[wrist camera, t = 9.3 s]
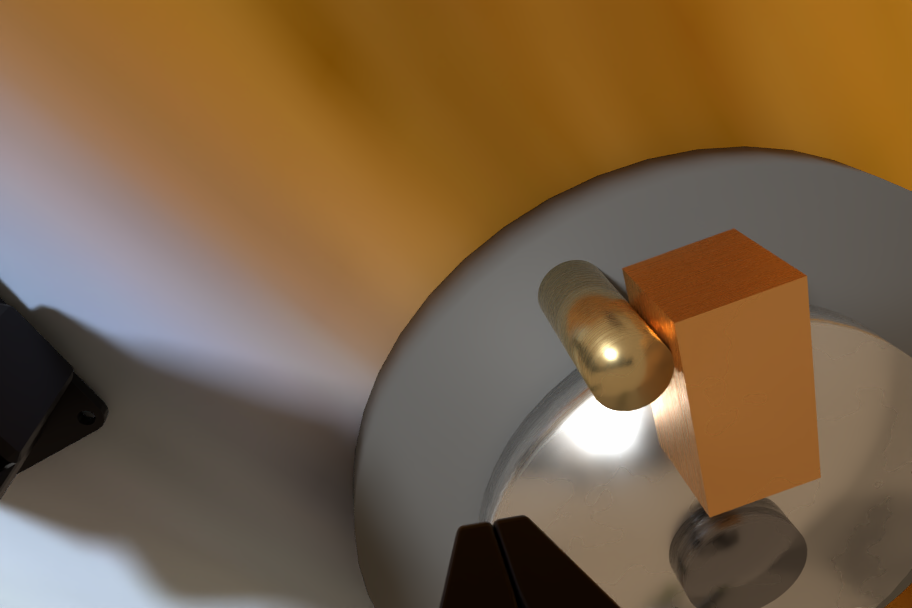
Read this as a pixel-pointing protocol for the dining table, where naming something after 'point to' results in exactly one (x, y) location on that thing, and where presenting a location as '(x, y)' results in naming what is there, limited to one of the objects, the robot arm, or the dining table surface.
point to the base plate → (544, 357)
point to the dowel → (605, 337)
